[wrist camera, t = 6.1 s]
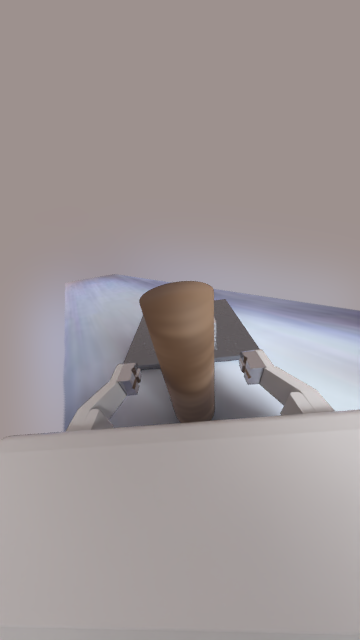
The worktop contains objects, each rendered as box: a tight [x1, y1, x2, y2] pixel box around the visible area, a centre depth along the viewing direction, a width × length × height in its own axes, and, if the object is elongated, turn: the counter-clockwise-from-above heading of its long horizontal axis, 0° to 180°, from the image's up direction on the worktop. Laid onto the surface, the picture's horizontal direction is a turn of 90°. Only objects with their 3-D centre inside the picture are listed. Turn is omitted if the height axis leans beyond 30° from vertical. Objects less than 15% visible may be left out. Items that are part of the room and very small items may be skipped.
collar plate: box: [124, 299, 260, 370], centre depth 24 cm, size 18×16×3 cm
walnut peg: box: [139, 281, 215, 423], centre depth 11 cm, size 4×4×12 cm
